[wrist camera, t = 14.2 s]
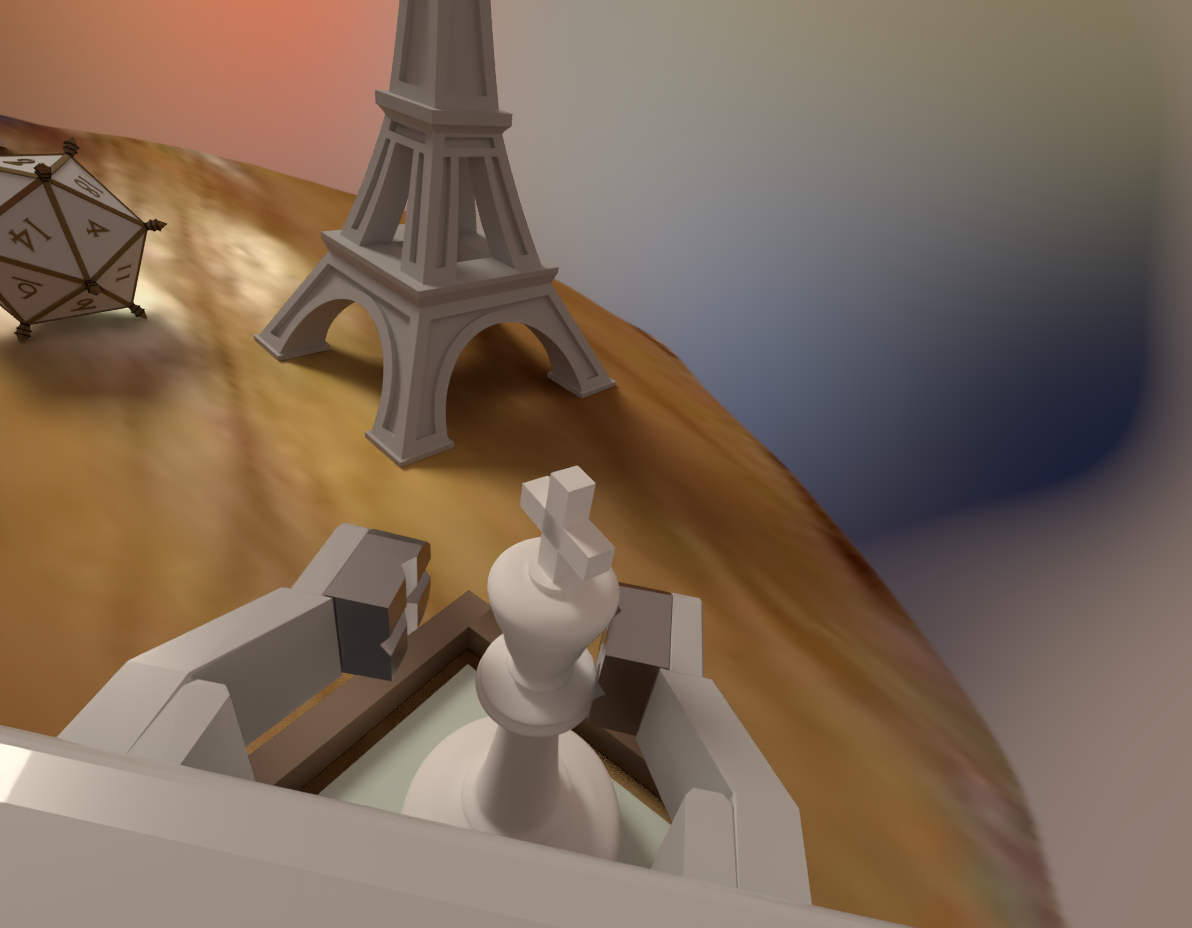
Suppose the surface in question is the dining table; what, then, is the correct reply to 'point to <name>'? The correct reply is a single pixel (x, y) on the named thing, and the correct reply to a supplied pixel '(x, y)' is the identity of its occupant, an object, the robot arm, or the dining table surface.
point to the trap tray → (372, 700)
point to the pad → (411, 741)
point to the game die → (64, 241)
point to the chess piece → (536, 690)
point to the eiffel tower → (435, 237)
